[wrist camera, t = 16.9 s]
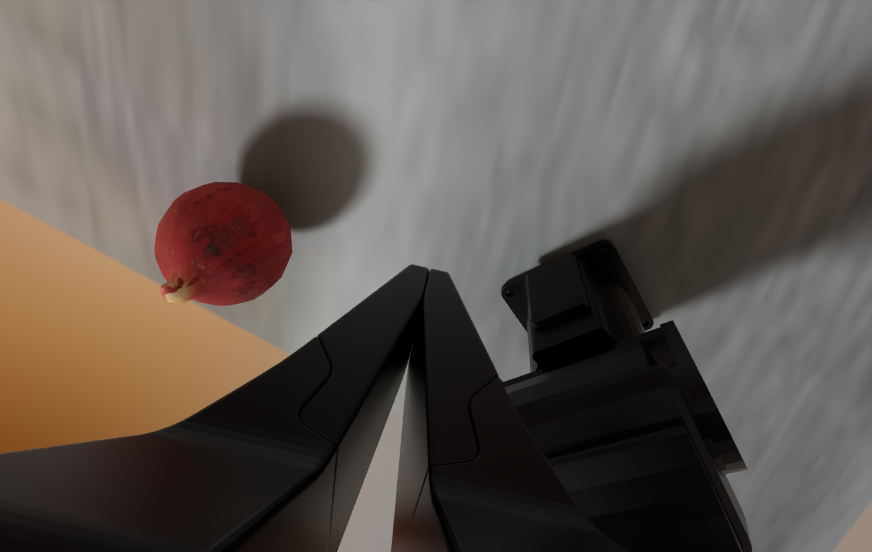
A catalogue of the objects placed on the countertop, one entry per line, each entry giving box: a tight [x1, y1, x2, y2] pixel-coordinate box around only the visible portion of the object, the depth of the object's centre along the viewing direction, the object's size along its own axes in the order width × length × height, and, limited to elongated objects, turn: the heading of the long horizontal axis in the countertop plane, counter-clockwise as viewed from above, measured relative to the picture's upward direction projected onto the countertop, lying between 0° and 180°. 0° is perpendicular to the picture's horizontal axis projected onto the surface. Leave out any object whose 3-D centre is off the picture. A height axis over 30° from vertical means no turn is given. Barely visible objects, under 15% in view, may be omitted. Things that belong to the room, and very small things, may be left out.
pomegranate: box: [155, 182, 292, 306], centre depth 21 cm, size 6×6×8 cm
